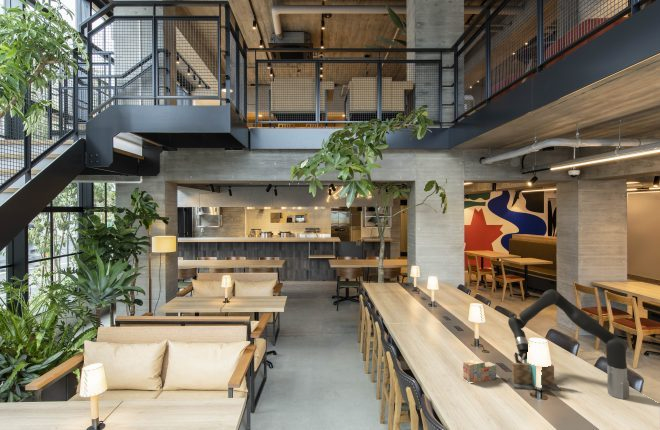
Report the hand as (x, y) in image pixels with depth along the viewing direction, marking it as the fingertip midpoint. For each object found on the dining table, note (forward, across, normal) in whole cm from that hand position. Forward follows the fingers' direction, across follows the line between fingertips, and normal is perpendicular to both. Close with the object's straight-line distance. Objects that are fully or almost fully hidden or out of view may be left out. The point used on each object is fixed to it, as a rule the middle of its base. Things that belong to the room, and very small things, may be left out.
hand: (529, 369), depth 235 cm
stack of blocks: (+6, -31, +6) cm, 32 cm away
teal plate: (+8, 0, +2) cm, 8 cm away
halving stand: (+9, 0, +2) cm, 9 cm away
